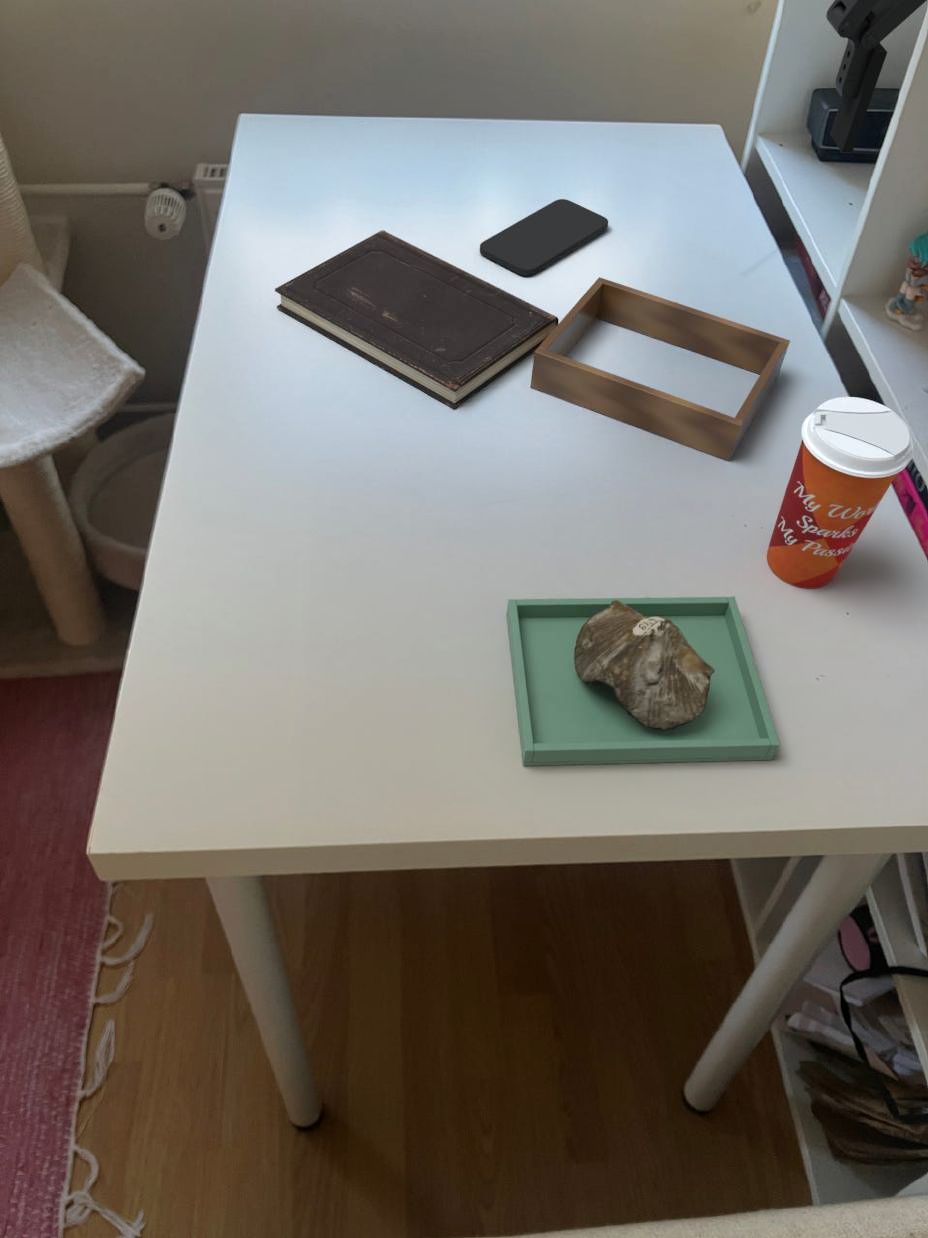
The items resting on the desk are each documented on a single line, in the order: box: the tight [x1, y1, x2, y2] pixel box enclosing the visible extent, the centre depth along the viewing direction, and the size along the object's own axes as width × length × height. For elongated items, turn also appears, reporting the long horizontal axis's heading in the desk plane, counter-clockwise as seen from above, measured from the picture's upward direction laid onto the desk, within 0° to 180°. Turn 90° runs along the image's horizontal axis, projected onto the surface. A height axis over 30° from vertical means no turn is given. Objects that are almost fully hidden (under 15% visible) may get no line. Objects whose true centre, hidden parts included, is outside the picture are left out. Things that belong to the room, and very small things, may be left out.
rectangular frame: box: [529, 276, 791, 462], centre depth 94 cm, size 20×15×4 cm
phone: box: [479, 198, 609, 277], centre depth 110 cm, size 7×1×15 cm
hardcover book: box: [274, 229, 560, 410], centre depth 99 cm, size 16×23×2 cm
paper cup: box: [766, 396, 915, 589], centre depth 75 cm, size 8×8×14 cm
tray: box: [505, 596, 781, 767], centre depth 71 cm, size 17×13×2 cm
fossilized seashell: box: [574, 600, 715, 730], centre depth 70 cm, size 8×7×10 cm
